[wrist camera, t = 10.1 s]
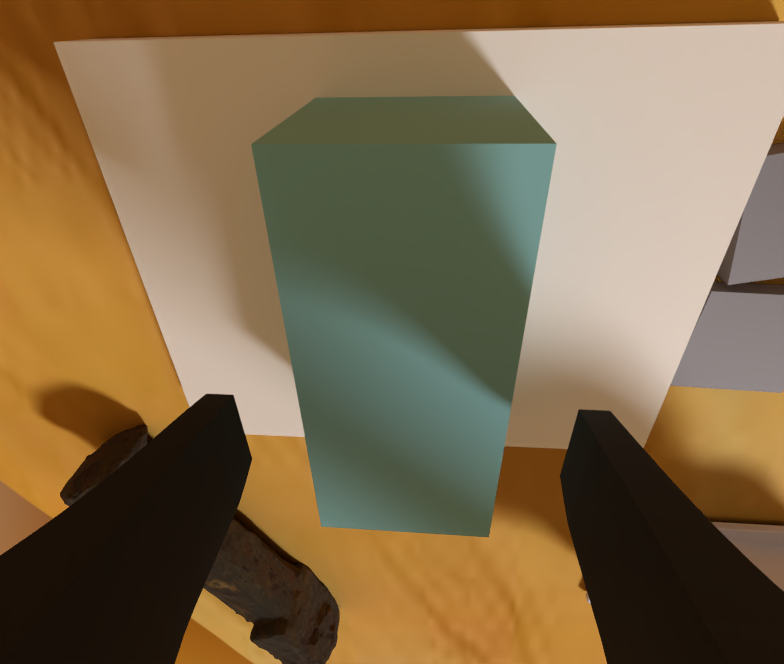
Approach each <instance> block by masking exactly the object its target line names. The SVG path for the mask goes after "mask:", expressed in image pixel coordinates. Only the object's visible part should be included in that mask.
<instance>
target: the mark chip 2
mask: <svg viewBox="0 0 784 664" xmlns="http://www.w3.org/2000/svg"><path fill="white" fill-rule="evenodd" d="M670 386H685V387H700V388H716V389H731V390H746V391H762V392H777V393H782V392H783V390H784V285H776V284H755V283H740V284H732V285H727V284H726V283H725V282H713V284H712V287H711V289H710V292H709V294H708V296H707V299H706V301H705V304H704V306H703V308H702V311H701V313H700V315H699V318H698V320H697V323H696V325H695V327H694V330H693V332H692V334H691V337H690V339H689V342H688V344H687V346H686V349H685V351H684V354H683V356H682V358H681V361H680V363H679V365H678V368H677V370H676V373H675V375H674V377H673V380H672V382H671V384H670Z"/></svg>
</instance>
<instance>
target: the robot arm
mask: <svg viewBox="0 0 784 664" xmlns="http://www.w3.org/2000/svg"><path fill="white" fill-rule="evenodd" d="M251 461H252V457H251V453H250V450H249V447H248V443H247V440H246V436H245V433H244V429H243V426H242V422H241V419H240V416H239V412H238V409H237V405H236V402H235V398H234V395H228V394H205V395H204V396H203V397H202V398H200V399H199V400H198V401H197V402H195V403H194V404H193V405H192V406H191V407H190V408H188V409H187V410H186V411H185V412H184V413H183V414H181V415H180V416H179V417H178V418H177V419H176V420H175V421H173V422H172V423H171V424H170V425H169V426H168V427H166V428H165V429H164V430H163V431H162V432H161V433H160V434H158V435H157V436H156V437H155V438H154V439H153V440H151V441H150V442H149V443H148V444H147V445H145V446H144V447H143V448H142V449H141V450H139V451H138V452H137V453H136V454H135V455H134V456H132V457H131V458H130V459H129V460H128V461H126V462H125V463H124V464H123V465H122V466H120V467H119V468H118V469H117V470H116V471H114V472H113V473H112V474H110V475H109V476H108V477H107V478H105V479H104V480H103V481H101V482H100V483H99V484H98V485H96V486H95V487H94V488H93V489H91V490H90V491H89V492H87V493H86V494H85V495H84V496H82V497H81V498H80V499H79V500H77V501H76V502H75V503H73V504H72V505H71V506H70V507H68V508H67V509H66V510H64V511H63V512H62V513H60V514H59V515H58V516H56V517H55V518H53V519H52V520H51V521H49V522H48V523H46V524H45V525H44V526H42V527H41V528H40V529H38V530H37V531H35V532H34V533H32V534H31V535H29V536H28V537H27V538H25V539H24V540H22V541H21V542H19V543H18V544H16V545H15V546H13V547H12V548H11V549H9V550H8V551H6V552H5V553H3V554H2V555H0V664H175V661H176V658H177V655H178V652H179V648H180V645H181V642H182V639H183V636H184V633H185V631H186V628H187V625H188V623H189V620H190V618H191V615H192V613H193V610H194V608H195V605H196V603H197V601H198V598H199V596H200V594H201V591H202V589H203V587H204V584H205V582H206V580H207V578H208V575H209V573H210V571H211V568H212V566H213V564H214V561H215V559H216V557H217V554H218V552H219V550H220V548H221V545H222V543H223V541H224V538H225V536H226V534H227V531H228V529H229V527H230V524H231V522H232V519H233V517H234V515H235V512H236V510H237V507H238V505H239V502H240V499H241V496H242V493H243V489H244V486H245V483H246V479H247V475H248V472H249V468H250V465H251ZM560 478H561V484H562V491H563V497H564V504H565V509H566V515H567V521H568V526H569V529H570V533H571V537H572V540H573V544H574V547H575V551H576V554H577V558H578V561H579V565H580V568H581V572H582V575H583V579H584V582H585V585H586V589H587V593H586V598H587V601H588V602H589V603H590V604H591V606H592V610H593V613H594V616H595V620H596V623H597V627H598V630H599V634H600V637H601V641H602V645H603V649H604V653H605V657H606V661H607V664H784V526H778V525H760V524H743V523H725V522H710V520H709V519H708V518H707V517H706V516H705V515H704V514H703V513H702V512H701V511H700V510H699V509H698V508H697V507H696V506H695V505H694V504H693V503H692V502H691V500H690V499H689V498H688V497H687V496H686V495H685V494H684V493H683V492H682V491H681V490H680V489H679V488H678V487H677V486H676V484H675V483H674V482H673V481H672V480H671V479H670V478H669V477H668V476H667V475H666V473H665V472H664V471H663V470H662V469H661V468H660V467H659V466H658V465H657V463H656V462H655V461H654V460H653V459H652V458H651V457H650V456H649V454H648V453H647V452H646V451H645V450H644V449H643V448H642V446H641V445H640V444H639V443H638V442H637V441H636V440H635V438H634V437H633V436H632V435H631V434H630V433H629V431H628V430H627V429H626V428H625V427H624V426H623V425H622V423H621V422H620V421H619V420H618V419H617V418H616V417H615V416H614V415H613V413H612V412H611V411H607V410H583V409H579V410H578V413H577V417H576V421H575V424H574V428H573V431H572V435H571V439H570V442H569V446H568V449H567V453H566V456H565V460H564V464H563V467H562V471H561V474H560Z"/></svg>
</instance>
